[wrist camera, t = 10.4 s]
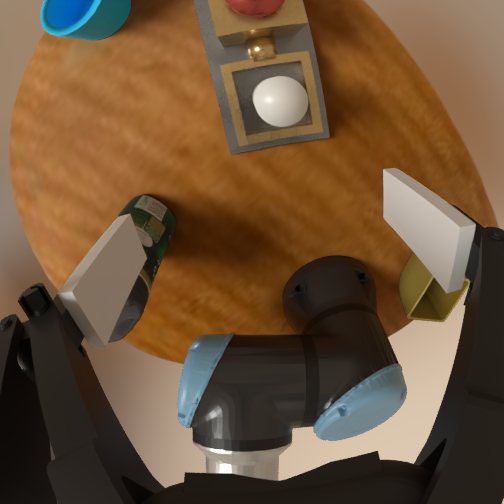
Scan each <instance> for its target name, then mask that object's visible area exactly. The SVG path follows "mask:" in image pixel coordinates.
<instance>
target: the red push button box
mask: <svg viewBox="0 0 504 504" xmlns="http://www.w3.org/2000/svg"><path fill="white" fill-rule="evenodd" d="M194 4H195V9H196V13H197V17H198V21H199V25H200V29H201V33H202V37H203V41H204V45H205V49H206V53H207V58H208V62H209V66H210V70H211V74H212V78H213V82H214V86H215V90H216V94H217V99H218V103H219V107H220V111H221V115H222V119H223V123H224V127H225V132H226V136H227V140H228V144H229V148H230V152H231V155H233V154H237V153H242V152H247V151H252V150H257V149H262V148H267V147H273V146H278V145H284V144H290V143H296V142H302V141H309V140H316V139H323V138H330V135H329V128H328V121H327V114H326V108H325V102H324V96H323V90H322V84H321V79H320V73H319V68H318V63H317V58H316V53H315V48H314V44H313V39H312V35H311V31H310V26H309V22H308V18H307V14H306V10H305V6H304V2H303V0H194ZM276 76H285V77H289V78H292V79H294V80H296V81H297V82H299V83H300V84H301V85H302V86H303V88H304V89H305V91H306V93H307V96H308V108H307V111H306V113H305V115H304V116H303V117H302V119H301V120H299V121H298V122H297V123H295V124H293V125H290V126H286V127H278V126H273V125H271V124H269V123H267V122H265V121H264V120H263V119H262V118H261V117H260V116H259V114H258V113H257V111H256V108H255V106H254V103H253V100H252V92H253V89H254V87H255V86H256V85H257V84H258V83H259V82H260V81H262V80H264V79H268V78H272V77H276Z"/></svg>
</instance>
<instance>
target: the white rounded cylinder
mask: <svg viewBox="0 0 504 504" xmlns="http://www.w3.org/2000/svg"><path fill="white" fill-rule="evenodd" d="M252 100H253V103H254V106H255V108H256V111H257V113H258V114H259V116H260V117H261V118H262V119H263V120H264V121H265V122H267V123H269V124H271V125H273V126H278V127H286V126H290V125H293V124H295V123H297V122H298V121H299V120H301V119H302V117H303V116H304V115H305V113H306V111H307V108H308V96H307V93H306V91H305V89H304V88H303V86H302V85H301V84H300V83H299V82H297V81H296V80H294V79H292V78H289V77H285V76H276V77H272V78H268V79H264V80H262V81H260V82H259V83H258V84H257V85H256V86H255V87H254V89H253V92H252Z"/></svg>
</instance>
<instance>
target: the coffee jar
mask: <svg viewBox="0 0 504 504" xmlns="http://www.w3.org/2000/svg"><path fill="white" fill-rule="evenodd" d="M126 214H131V217H132V220H133V223H134V225H135V228H136V231H137V233H138V236H139V239H140V241H141V244H142V247H143V249H144V252H145V254H146V257H147V259H146V261H145V263H144V265H143V267H142V269H141V271H140V273H139V275H138V277H137V279H136V281H135V283H134V285H133V288H132V290H131V292H130V294H129V296H128V298H127V300H126V302H125V305H124V307H123V309H122V311H121V313H120V316H119V318H118V320H117V322H116V325H115V327H114V329H113V331H112V334H111V336H110V338H109V341H108V343H109V342H115V341H118V340H121V339H122V338H124V337H125V336H126V335H127V334H128V333H129V332H130V331H131V330H132V329H133V328H134V326H135V325H136V323H137V322H138V321H139V319H140V318H141V316H142V314H143V312H144V308H145V305H146V303H147V301H148V299H149V295H150V291H151V288H152V284H153V281H154V279H155V276H156V274H157V271H158V268H159V266H160V263H161V261H162V258H163V256H164V254H165V251H166V249H167V247H168V244H169V242H170V240H171V238H172V235H173V233H174V231H175V228H176V220H175V217H174V215H173V213H172V212H171V211H170V210H169V209H168V208H167V207H166V206H165V205H163V204H162V203H161V202H159V201H158V200H156V199H154V198H152V197H150V196H147V195H140V196H136V197H135V198H133V199H132V200H131V201H130V202H129V203H128V204H127V205H126V207H125V208H124V209H123V210H122V211H121V213H120V214H119V215H118V217H119V216H123V215H126ZM115 220H116V219H115Z"/></svg>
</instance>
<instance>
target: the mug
mask: <svg viewBox="0 0 504 504" xmlns="http://www.w3.org/2000/svg"><path fill="white" fill-rule="evenodd" d="M130 9H131V0H45V1H44V2H43V6H42V9H41V23H42V26H43V28H44V30H46V31H47V32H48V33H49V34H52V35H56V36H63V37H71V38H78V39H85V40H91V41H92V40H101V39H104V38H107V37H109V36H110V35H112V34H113V33H115V32H116V31H118V29H119V28H120V27H121V26H122V25H123V24H124V23H125V21H126V19H127V18H128V16H129V13H130Z"/></svg>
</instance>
